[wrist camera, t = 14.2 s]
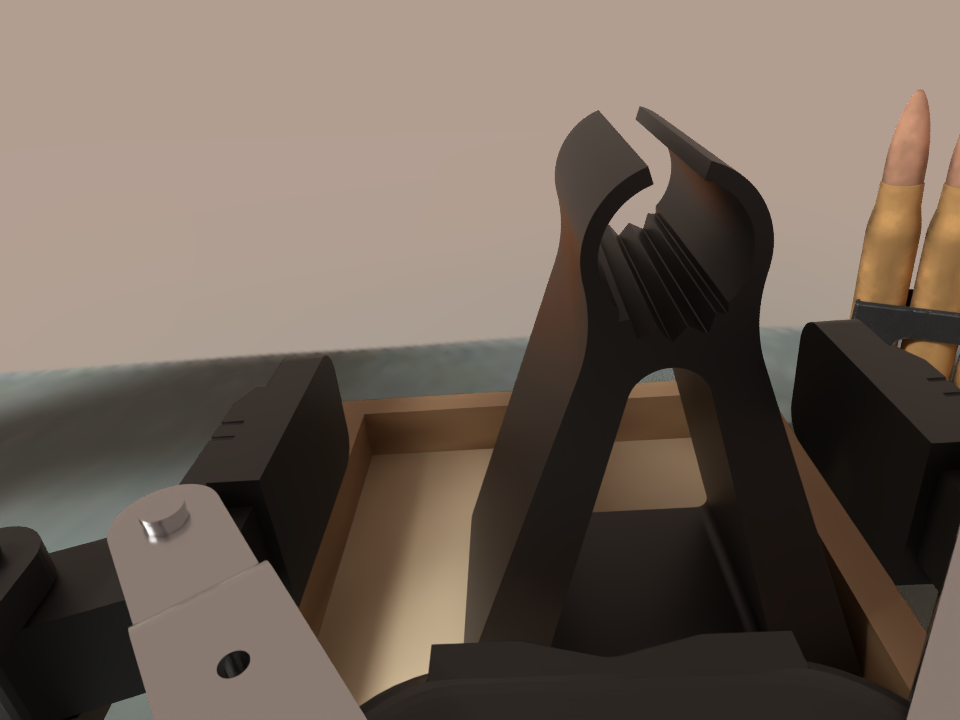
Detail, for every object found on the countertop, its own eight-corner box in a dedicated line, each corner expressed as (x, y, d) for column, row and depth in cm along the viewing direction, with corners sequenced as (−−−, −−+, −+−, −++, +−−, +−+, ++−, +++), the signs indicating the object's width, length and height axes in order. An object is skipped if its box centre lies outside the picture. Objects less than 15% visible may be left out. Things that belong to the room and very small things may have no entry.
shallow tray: (206, 927, 13) (159, 843, 12) (357, 466, 27) (342, 401, 25) (1009, 926, 12) (1059, 834, 11) (748, 445, 25) (756, 375, 24)
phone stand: (460, 702, 16) (377, 190, 10) (472, 526, 21) (422, 126, 16) (860, 691, 15) (1002, 136, 10) (769, 513, 20) (826, 89, 15)
